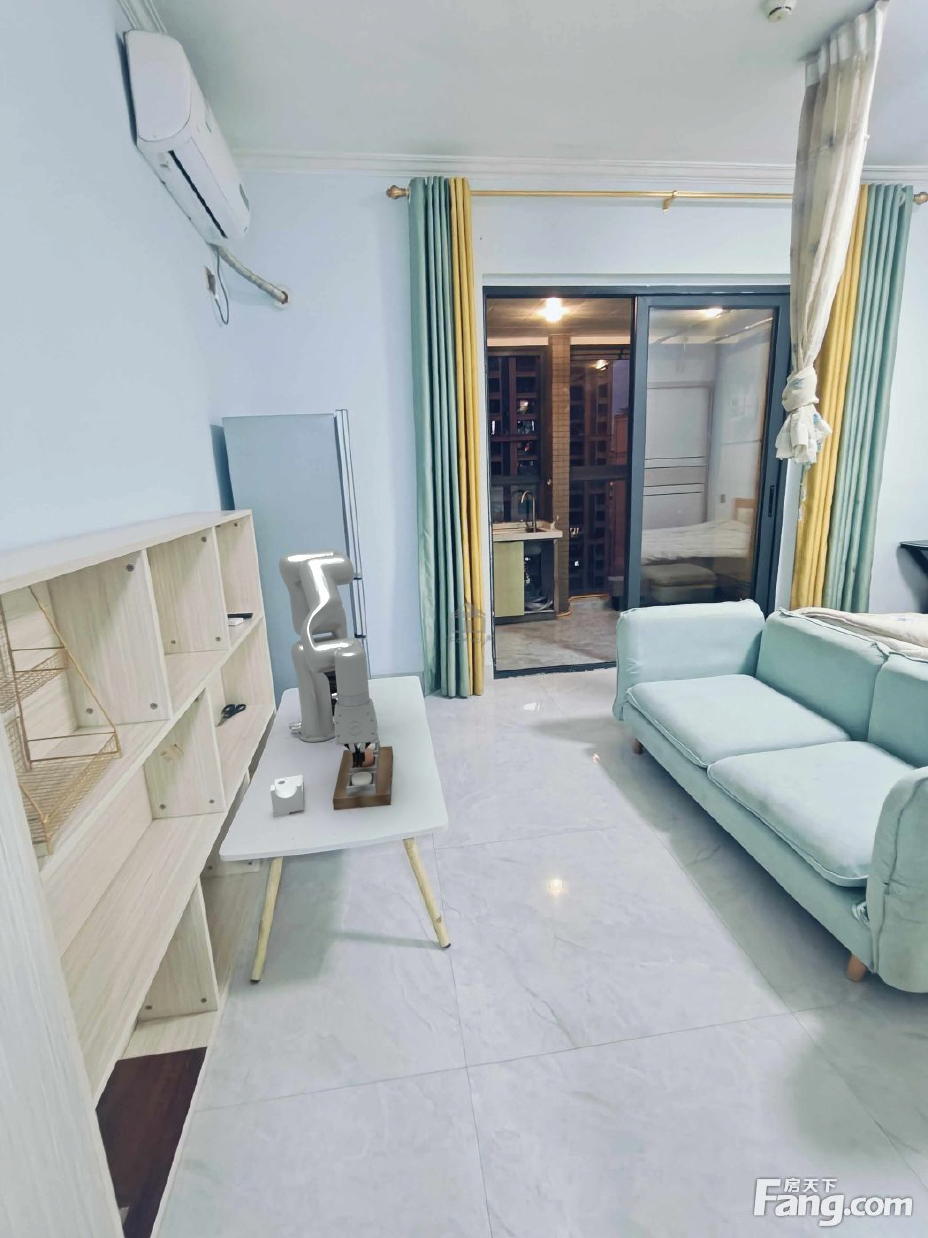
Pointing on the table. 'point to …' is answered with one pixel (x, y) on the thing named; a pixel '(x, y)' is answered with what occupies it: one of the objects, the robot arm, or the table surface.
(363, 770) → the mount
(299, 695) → the robot arm
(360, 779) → the near button
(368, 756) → the middle button
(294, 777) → the bracket
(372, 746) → the far button
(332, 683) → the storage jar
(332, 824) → the table surface
